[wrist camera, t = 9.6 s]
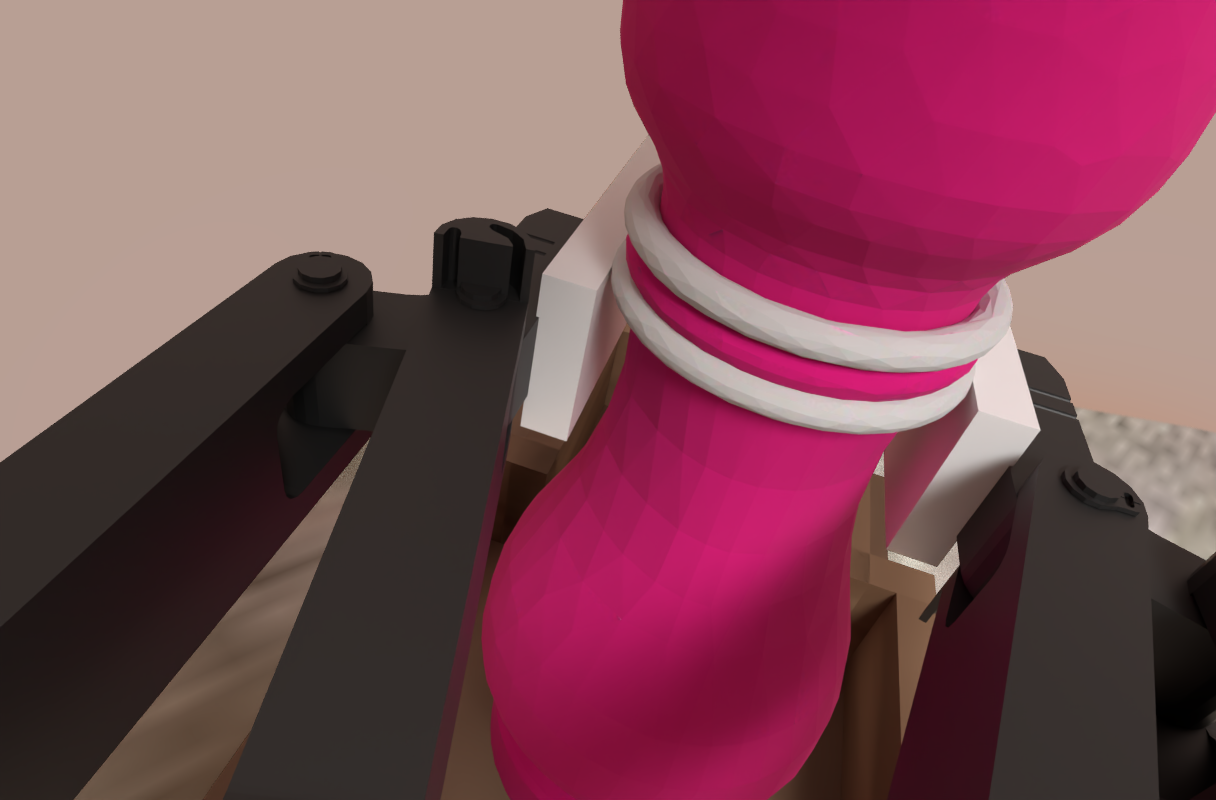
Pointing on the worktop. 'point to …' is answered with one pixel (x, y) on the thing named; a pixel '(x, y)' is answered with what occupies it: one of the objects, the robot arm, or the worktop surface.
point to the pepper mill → (800, 350)
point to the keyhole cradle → (875, 667)
